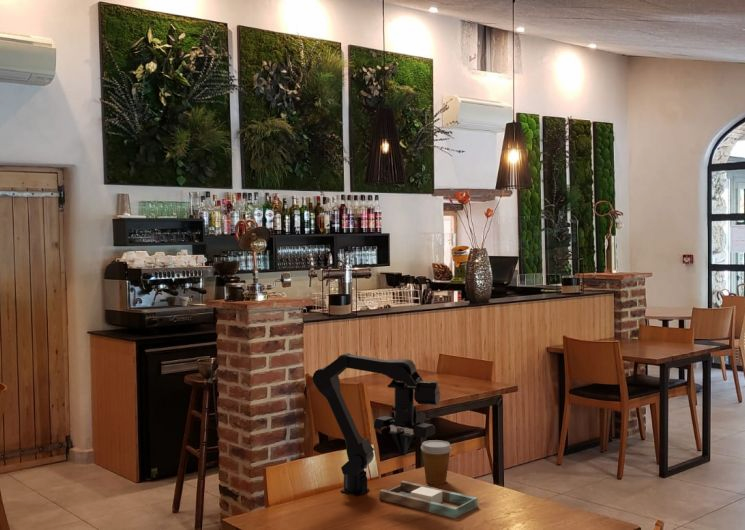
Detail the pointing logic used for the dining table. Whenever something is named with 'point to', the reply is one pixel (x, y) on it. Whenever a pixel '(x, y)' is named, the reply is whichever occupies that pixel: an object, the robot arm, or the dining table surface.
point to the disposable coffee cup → (436, 460)
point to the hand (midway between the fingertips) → (403, 455)
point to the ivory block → (428, 494)
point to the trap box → (404, 497)
